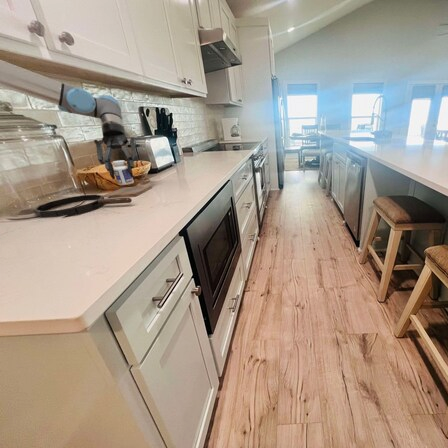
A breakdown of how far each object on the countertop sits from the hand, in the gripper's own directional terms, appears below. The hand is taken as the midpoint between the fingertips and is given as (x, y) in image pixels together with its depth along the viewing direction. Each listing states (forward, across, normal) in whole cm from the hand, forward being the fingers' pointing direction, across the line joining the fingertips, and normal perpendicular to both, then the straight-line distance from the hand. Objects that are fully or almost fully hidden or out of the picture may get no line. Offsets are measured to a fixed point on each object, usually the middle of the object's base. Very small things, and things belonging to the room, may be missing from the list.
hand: (122, 175), depth 92 cm
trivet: (+3, 0, -8) cm, 8 cm away
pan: (+14, +10, +3) cm, 17 cm away
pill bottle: (0, 0, -5) cm, 5 cm away
